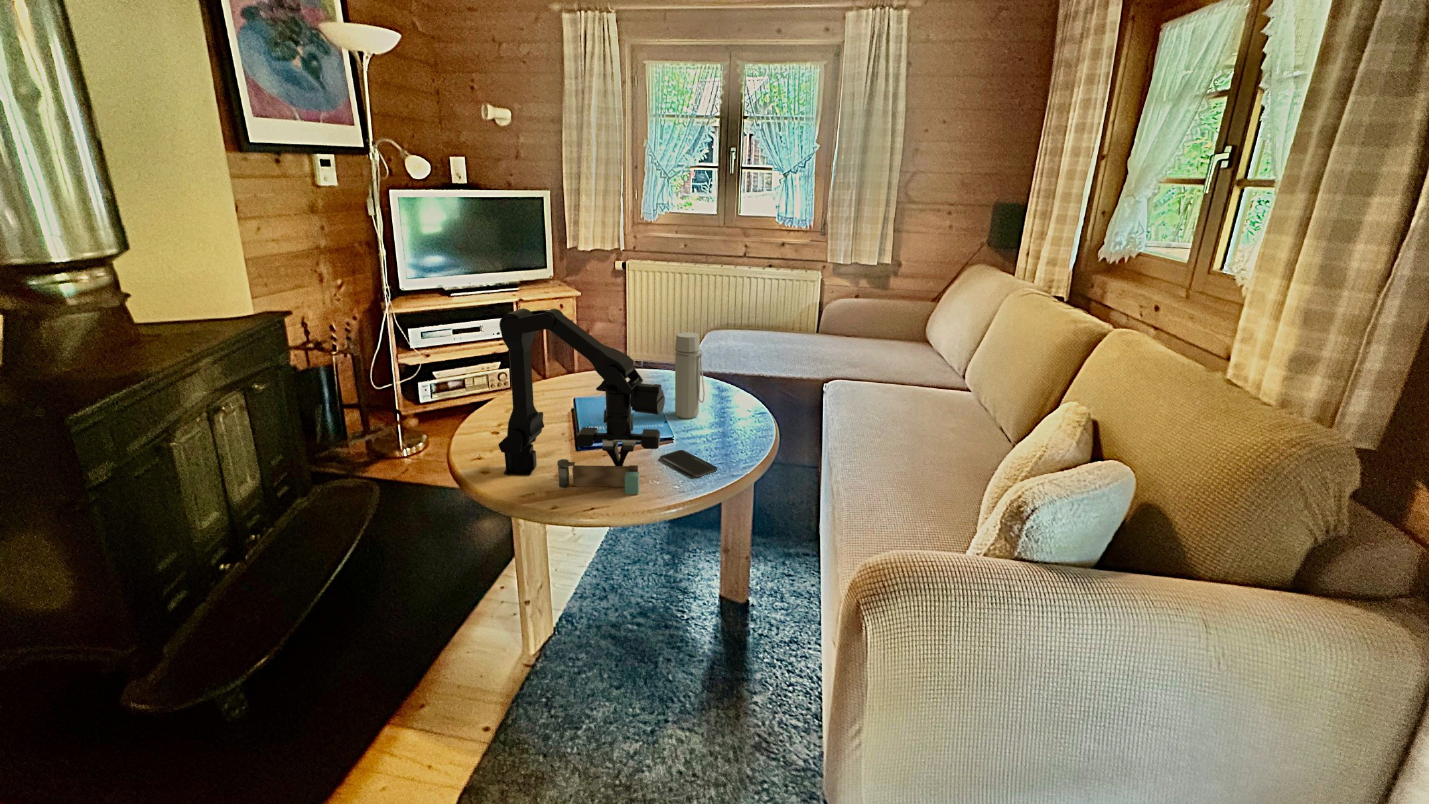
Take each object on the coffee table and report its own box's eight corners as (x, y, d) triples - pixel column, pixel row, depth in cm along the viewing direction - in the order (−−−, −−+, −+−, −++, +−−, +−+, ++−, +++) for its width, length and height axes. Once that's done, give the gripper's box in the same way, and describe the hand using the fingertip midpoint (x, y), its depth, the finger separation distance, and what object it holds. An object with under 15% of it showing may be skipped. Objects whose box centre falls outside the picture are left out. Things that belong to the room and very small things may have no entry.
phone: (694, 476, 163) (658, 456, 174) (694, 480, 164) (658, 460, 174) (719, 468, 168) (682, 448, 179) (719, 472, 169) (682, 452, 179)
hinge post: (558, 487, 158) (557, 469, 156) (560, 483, 160) (559, 464, 159) (568, 488, 158) (567, 469, 156) (570, 483, 160) (569, 465, 159)
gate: (557, 486, 158) (556, 463, 156) (560, 481, 160) (558, 459, 158) (637, 487, 158) (636, 464, 156) (638, 482, 161) (637, 460, 159)
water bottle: (670, 417, 202) (670, 336, 194) (681, 409, 209) (681, 330, 201) (699, 422, 199) (700, 339, 191) (708, 413, 206) (710, 333, 198)
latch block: (625, 494, 156) (624, 475, 154) (626, 489, 158) (625, 471, 156) (638, 494, 156) (637, 476, 154) (639, 489, 158) (638, 472, 156)
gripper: (662, 398, 163) (661, 458, 168) (584, 396, 162) (586, 455, 168) (658, 415, 152) (658, 478, 157) (575, 413, 152) (577, 475, 157)
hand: (619, 471), depth 160 cm, fingers closed
